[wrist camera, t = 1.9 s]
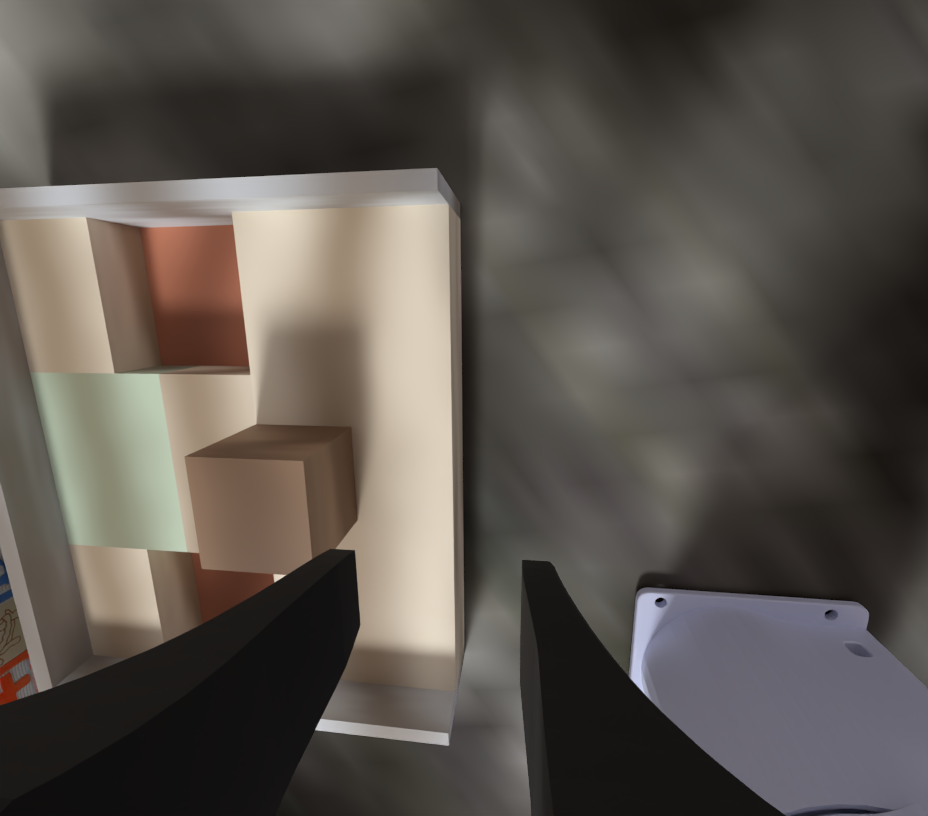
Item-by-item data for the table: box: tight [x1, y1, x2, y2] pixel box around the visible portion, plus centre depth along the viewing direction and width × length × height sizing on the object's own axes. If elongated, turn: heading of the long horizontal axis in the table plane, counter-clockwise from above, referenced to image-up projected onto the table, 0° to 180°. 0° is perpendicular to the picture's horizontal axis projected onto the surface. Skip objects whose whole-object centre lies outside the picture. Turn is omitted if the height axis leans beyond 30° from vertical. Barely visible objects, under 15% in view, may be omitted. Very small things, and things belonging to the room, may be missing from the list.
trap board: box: [0, 168, 465, 746], centre depth 19 cm, size 19×21×5 cm
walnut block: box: [184, 424, 357, 575], centre depth 17 cm, size 4×4×4 cm
